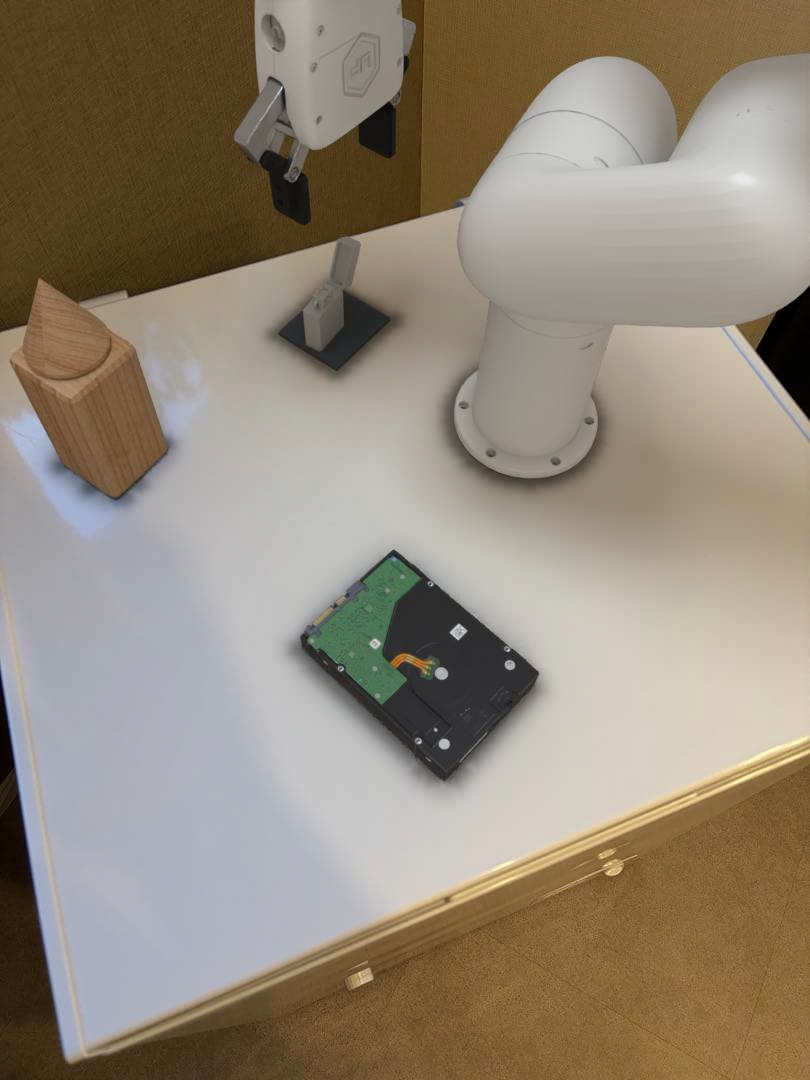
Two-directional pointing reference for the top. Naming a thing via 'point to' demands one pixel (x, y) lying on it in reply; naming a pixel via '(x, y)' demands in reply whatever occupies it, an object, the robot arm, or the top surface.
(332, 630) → the disk drive
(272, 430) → the top surface
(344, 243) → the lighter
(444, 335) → the top surface
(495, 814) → the top surface
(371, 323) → the mat
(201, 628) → the top surface
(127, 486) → the decorative item
